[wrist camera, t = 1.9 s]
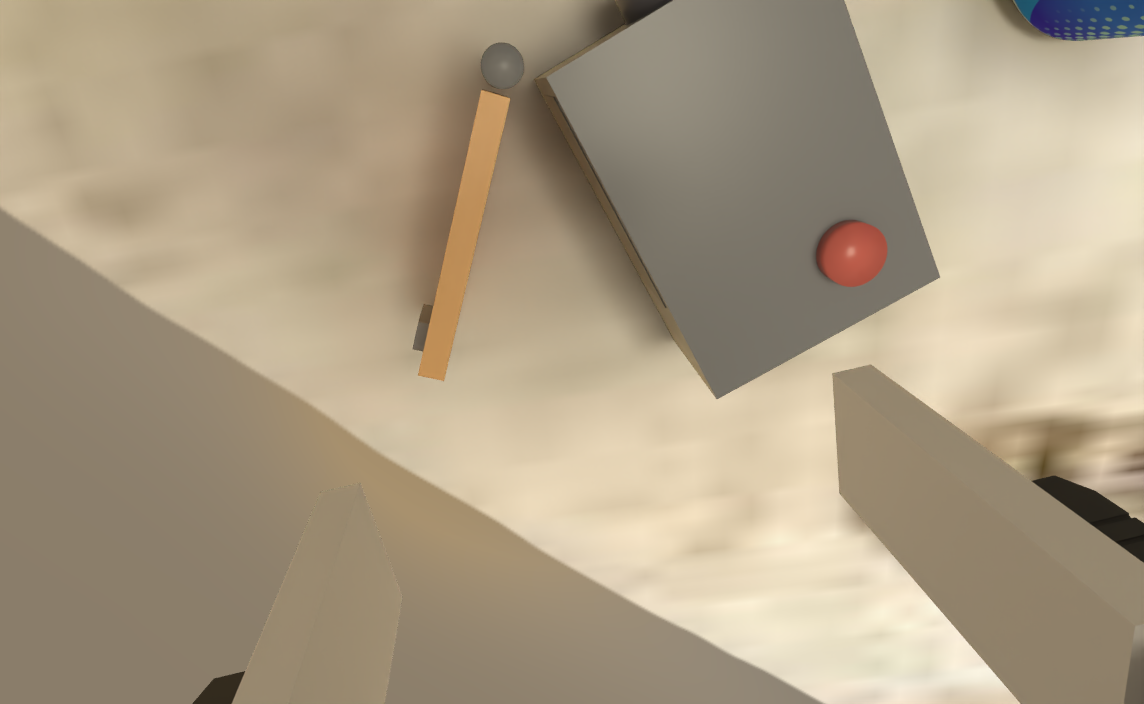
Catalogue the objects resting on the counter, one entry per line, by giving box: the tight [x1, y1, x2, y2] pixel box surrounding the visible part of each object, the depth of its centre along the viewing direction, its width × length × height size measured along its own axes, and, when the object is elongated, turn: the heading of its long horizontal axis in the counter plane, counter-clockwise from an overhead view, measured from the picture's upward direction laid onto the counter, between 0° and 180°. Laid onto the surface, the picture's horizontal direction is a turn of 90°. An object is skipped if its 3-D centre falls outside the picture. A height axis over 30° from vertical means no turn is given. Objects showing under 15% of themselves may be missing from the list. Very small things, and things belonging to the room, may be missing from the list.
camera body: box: [534, 0, 940, 399], centre depth 28 cm, size 15×10×8 cm, turn 29°
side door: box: [413, 43, 524, 381], centre depth 27 cm, size 12×2×6 cm, turn 164°
